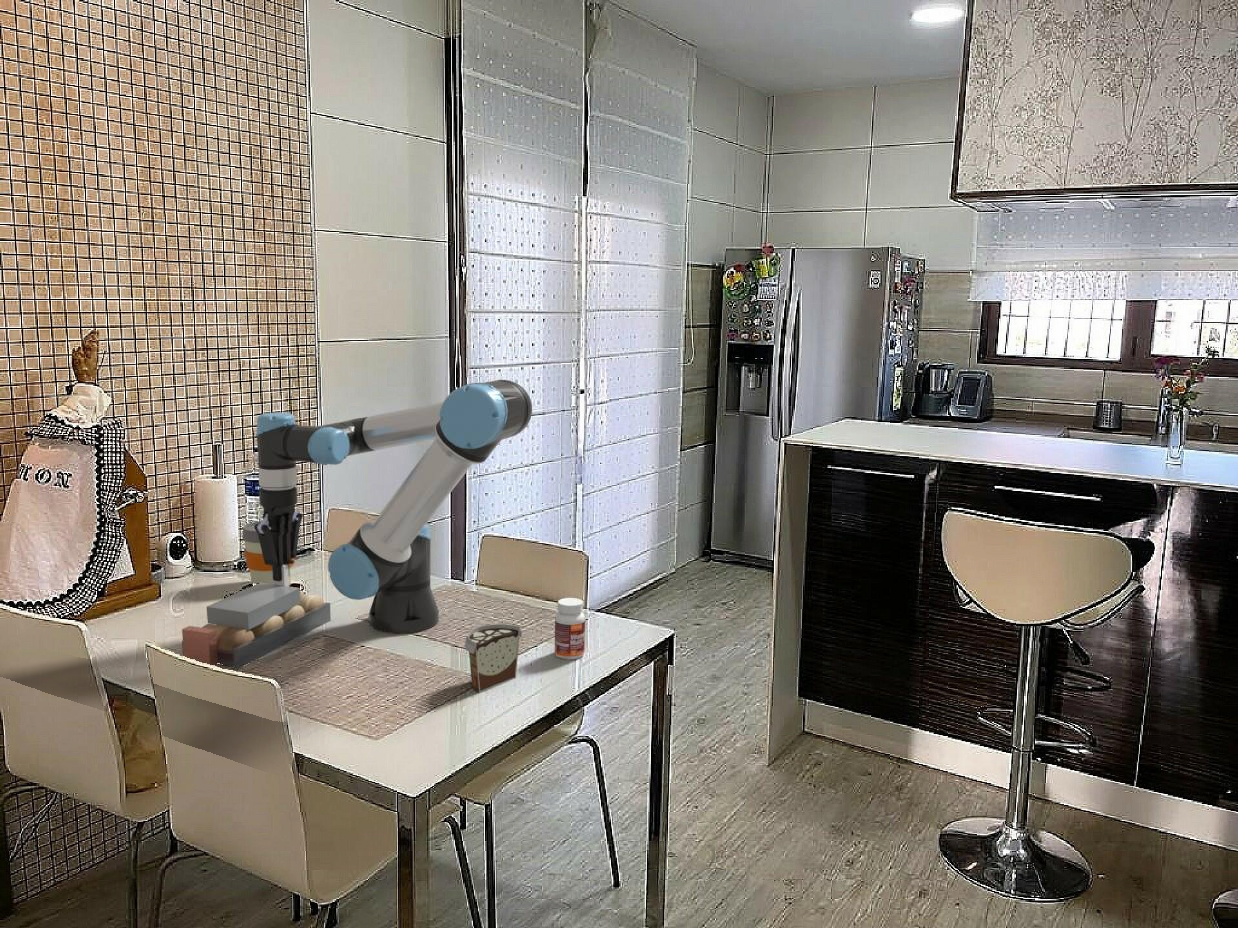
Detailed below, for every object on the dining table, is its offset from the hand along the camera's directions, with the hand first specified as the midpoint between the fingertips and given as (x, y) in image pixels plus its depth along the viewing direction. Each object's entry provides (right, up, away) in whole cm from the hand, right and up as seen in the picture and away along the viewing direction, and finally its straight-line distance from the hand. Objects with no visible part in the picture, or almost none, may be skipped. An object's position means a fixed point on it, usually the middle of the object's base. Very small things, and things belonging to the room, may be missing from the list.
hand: (281, 593), depth 200 cm
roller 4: (+1, -6, +6) cm, 9 cm away
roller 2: (-3, -9, -7) cm, 12 cm away
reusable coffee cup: (-14, -2, +31) cm, 34 cm away
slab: (-3, -3, -8) cm, 9 cm away
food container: (+47, -13, -24) cm, 55 cm away
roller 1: (-6, -10, -16) cm, 20 cm away
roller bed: (-3, -9, -7) cm, 12 cm away
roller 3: (-1, -8, -1) cm, 8 cm away
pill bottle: (+62, -11, -10) cm, 64 cm away
